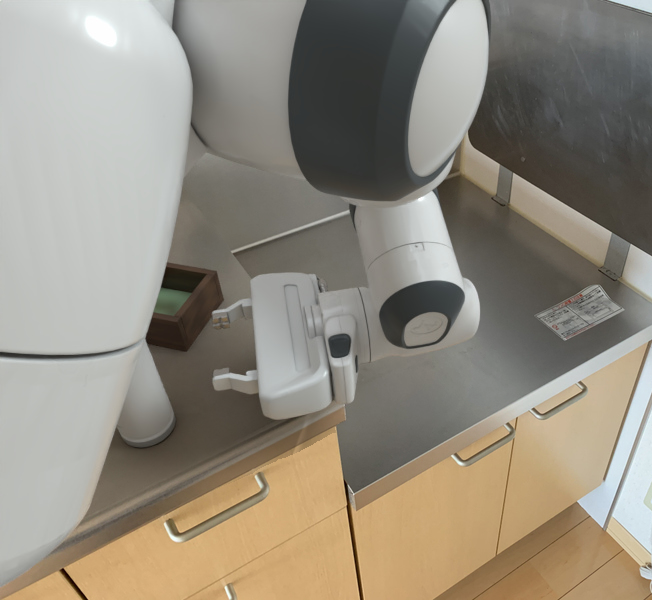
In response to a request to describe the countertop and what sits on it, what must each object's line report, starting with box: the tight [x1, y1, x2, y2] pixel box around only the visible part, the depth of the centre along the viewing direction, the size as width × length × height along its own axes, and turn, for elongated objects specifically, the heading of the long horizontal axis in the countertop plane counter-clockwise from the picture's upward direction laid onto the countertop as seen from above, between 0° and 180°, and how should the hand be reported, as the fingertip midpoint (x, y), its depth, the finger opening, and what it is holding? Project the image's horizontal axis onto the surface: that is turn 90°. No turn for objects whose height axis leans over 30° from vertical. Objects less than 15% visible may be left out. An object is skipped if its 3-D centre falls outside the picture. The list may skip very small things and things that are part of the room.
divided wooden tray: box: [145, 261, 225, 352], centre depth 87 cm, size 11×21×6 cm, turn 75°
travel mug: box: [116, 340, 177, 448], centre depth 66 cm, size 6×7×20 cm
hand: (212, 349), depth 67 cm, fingers open, 8 cm apart
